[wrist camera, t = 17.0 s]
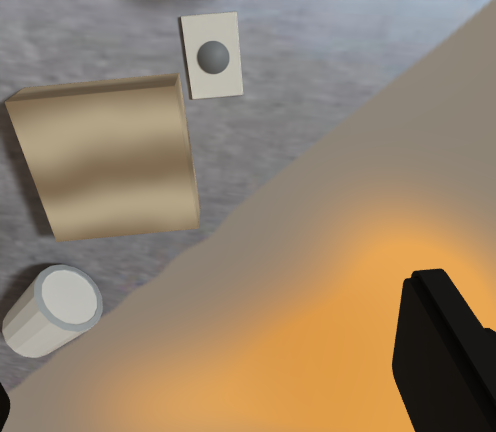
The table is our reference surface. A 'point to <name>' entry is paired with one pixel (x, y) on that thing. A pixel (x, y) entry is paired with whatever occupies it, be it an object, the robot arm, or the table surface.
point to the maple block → (109, 155)
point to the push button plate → (213, 54)
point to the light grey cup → (52, 311)
